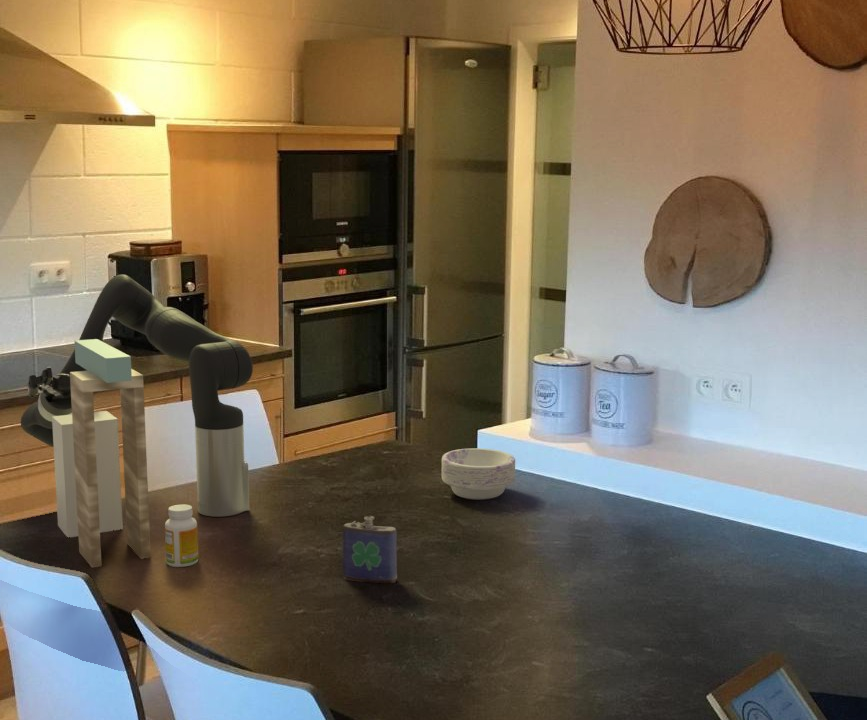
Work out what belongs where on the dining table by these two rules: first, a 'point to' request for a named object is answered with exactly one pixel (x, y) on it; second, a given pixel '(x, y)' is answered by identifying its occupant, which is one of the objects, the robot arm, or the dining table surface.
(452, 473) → the paper bowls
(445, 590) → the dining table surface
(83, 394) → the bridge
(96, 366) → the pale green long bar
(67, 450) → the light grey tall block
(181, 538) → the supplement bottle
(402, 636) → the dining table surface
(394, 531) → the flask
